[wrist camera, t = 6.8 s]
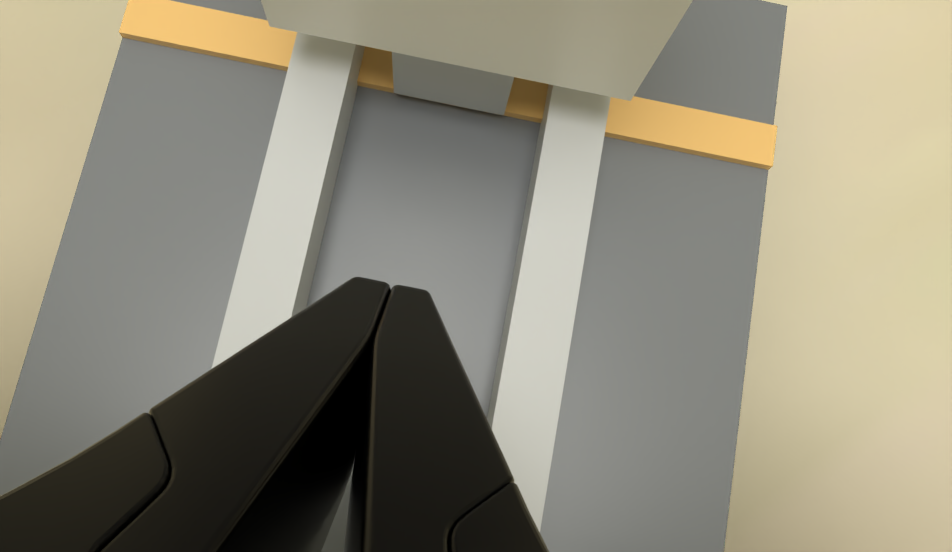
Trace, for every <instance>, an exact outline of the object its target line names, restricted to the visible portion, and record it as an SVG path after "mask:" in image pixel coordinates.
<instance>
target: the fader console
mask: <svg viewBox="0 0 952 552" xmlns="http://www.w3.org/2000/svg"><path fill="white" fill-rule="evenodd" d="M786 12H787V6H784V5H780V4H775V3H770V2H766V1H761V0H693V1H692V3H691V4H690V6H689V8H688V9H687V11H686V12H685V14H684V16H683V17H682V19H681V20H680V22H679V24H678V25H677V27H676V28H675V30H674V32H673V33H672V35H671V37H670V38H669V40H668V41H667V43H666V45H665V46H664V48H663V49H662V51H661V53H660V54H659V56H658V57H657V59H656V61H655V62H654V64H653V66H652V67H651V69H650V70H649V72H648V74H647V75H646V77H645V78H644V80H643V82H642V83H641V85H640V86H639V88H638V90H637V91H636V93H635V94H634V96H633V98H632V99H631V101H628V100H623V99H618V98H613V97H608V96H604V95H599V94H594V93H589V92H584V91H579V90H575V89H570V88H565V87H560V86H555V85H550V84H546V83H541V82H536V81H531V80H526V79H521V78H516V77H514V80H513V83H512V87H511V91H510V95H509V98H508V102H507V106H506V109H505V113H504V116H503V115H499V114H494V113H489V112H484V111H479V110H474V109H469V108H464V107H460V106H455V105H450V104H445V103H440V102H435V101H430V100H425V99H421V98H416V97H411V96H406V95H401V94H396V93H394V85H393V66H392V52H391V51H386V50H381V49H376V48H371V47H366V46H362V45H357V44H352V43H347V42H342V41H337V40H333V39H328V38H323V37H318V36H313V35H308V34H304V33H299V32H294V31H289V30H284V29H279V28H275V27H270V26H269V23H268V20H267V17H266V14H265V11H264V8H263V5H262V2H261V0H129V1H128V4H127V7H126V11H125V14H124V17H123V20H122V24H121V27H120V30H119V33H120V34H121V36H122V37H123V38H122V41H121V45H120V48H119V51H118V55H117V58H116V61H115V64H114V68H113V71H112V74H111V78H110V81H109V84H108V87H107V91H106V94H105V97H104V101H103V104H102V107H101V111H100V114H99V117H98V120H97V124H96V127H95V130H94V134H93V137H92V140H91V143H90V147H89V150H88V153H87V157H86V160H85V163H84V166H83V170H82V173H81V176H80V180H79V183H78V186H77V189H76V193H75V196H74V199H73V203H72V206H71V209H70V212H69V216H68V219H67V222H66V226H65V229H64V232H63V235H62V239H61V242H60V245H59V249H58V252H57V255H56V258H55V262H54V265H53V268H52V272H51V275H50V278H49V281H48V285H47V288H46V291H45V295H44V298H43V301H42V304H41V308H40V311H39V314H38V318H37V321H36V324H35V328H34V331H33V334H32V337H31V341H30V344H29V347H28V351H27V354H26V357H25V360H24V364H23V367H22V370H21V374H20V377H19V380H18V383H17V387H16V390H15V393H14V397H13V400H12V403H11V406H10V410H9V413H8V416H7V420H6V423H5V426H4V429H3V433H2V436H1V439H0V496H1V495H3V494H5V493H7V492H9V491H11V490H13V489H15V488H16V487H18V486H20V485H22V484H24V483H26V482H27V481H29V480H31V479H33V478H35V477H37V476H38V475H40V474H42V473H44V472H46V471H48V470H50V469H51V468H53V467H55V466H57V465H59V464H61V463H62V462H64V461H66V460H68V459H70V458H71V457H73V456H75V455H76V454H78V453H80V452H81V451H83V450H85V449H86V448H88V447H89V446H91V445H93V444H94V443H96V442H98V441H99V440H101V439H103V438H104V437H106V436H108V435H109V434H111V433H112V432H114V431H116V430H117V429H119V428H120V427H122V426H123V425H125V424H127V423H128V422H130V421H131V420H133V419H134V418H136V417H137V416H139V415H140V414H142V413H145V412H146V413H149V410H150V409H151V408H152V407H153V406H155V405H156V404H158V403H160V402H161V401H163V400H164V399H166V398H167V397H169V396H170V395H172V394H173V393H175V392H177V391H178V390H180V389H181V388H183V387H184V386H186V385H187V384H189V383H190V382H192V381H194V380H195V379H197V378H198V377H200V376H201V375H203V374H204V373H206V372H207V371H209V370H211V369H212V368H214V367H215V366H217V365H218V364H220V363H221V362H223V361H224V360H226V359H228V358H229V357H231V356H232V355H234V354H235V353H237V352H238V351H240V350H241V349H243V348H244V347H246V346H248V345H249V344H251V343H252V342H254V341H255V340H257V339H258V338H260V337H261V336H263V335H265V334H266V333H268V332H269V331H271V330H272V329H274V328H275V327H277V326H278V325H280V324H282V323H283V322H285V321H286V320H288V319H289V318H291V317H292V316H294V315H295V314H297V313H299V312H300V311H302V310H303V309H305V308H306V307H308V306H309V305H311V304H312V303H314V302H316V301H317V300H319V299H320V298H322V297H323V296H325V295H326V294H328V293H329V292H331V291H333V290H334V289H336V288H337V287H339V286H340V285H342V284H343V283H345V282H346V281H348V280H350V279H351V278H353V277H363V278H368V279H373V280H378V281H383V282H386V283H388V284H389V285H390V288H392V287H393V286H395V285H403V286H408V287H413V288H418V289H424V290H427V291H428V292H429V293H430V295H431V297H432V299H433V301H434V303H435V305H436V308H437V310H438V312H439V314H440V316H441V319H442V321H443V323H444V325H445V327H446V330H447V332H448V334H449V336H450V338H451V341H452V343H453V345H454V347H455V349H456V352H457V354H458V356H459V358H460V360H461V363H462V365H463V367H464V369H465V372H466V374H467V376H468V378H469V380H470V383H471V385H472V387H473V389H474V391H475V394H476V396H477V398H478V400H479V402H480V405H481V407H482V409H483V411H484V413H485V416H486V418H487V420H488V422H489V424H490V427H491V429H492V431H493V433H494V435H495V438H496V440H497V442H498V444H499V447H500V449H501V451H502V453H503V455H504V458H505V460H506V462H507V464H508V466H509V469H510V471H511V473H512V475H513V477H514V483H515V484H517V486H518V488H519V490H520V492H521V494H522V497H523V499H524V501H525V503H526V506H527V508H528V510H529V512H530V514H531V516H532V518H533V520H534V522H535V524H536V526H537V528H538V530H539V532H540V534H541V536H542V538H543V540H544V542H545V544H546V546H547V548H548V550H549V552H724V546H725V537H726V529H727V520H728V511H729V503H730V494H731V486H732V477H733V468H734V460H735V451H736V443H737V434H738V425H739V417H740V408H741V399H742V391H743V382H744V374H745V365H746V356H747V348H748V339H749V331H750V322H751V313H752V305H753V296H754V288H755V279H756V270H757V262H758V253H759V245H760V236H761V227H762V219H763V210H764V202H765V193H766V184H767V176H768V170H769V169H770V168H771V167H772V166H773V160H774V151H775V142H776V133H777V126H775V125H773V124H774V116H775V107H776V98H777V90H778V81H779V73H780V64H781V55H782V47H783V38H784V30H785V21H786ZM353 467H354V464H353ZM352 473H353V468H352V471H351V475H350V478H349V481H348V484H347V486H346V489H345V492H344V495H343V497H342V500H341V502H340V505H339V507H338V510H337V513H336V515H335V518H334V520H333V523H332V525H331V528H330V530H329V533H328V535H327V538H326V541H325V543H324V546H323V548H322V551H321V552H343V551H344V542H345V532H346V523H347V513H348V504H349V495H350V487H351V480H352Z"/></svg>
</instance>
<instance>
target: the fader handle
mask: <svg viewBox="0 0 952 552" xmlns="http://www.w3.org/2000/svg"><path fill="white" fill-rule="evenodd" d="M692 1H693V0H261V2H262V5H263V8H264V11H265V14H266V17H267V20H268V23H269V26H270V27H275V28H279V29H284V30H289V31H294V32H299V33H304V34H308V35H313V36H318V37H323V38H328V39H333V40H337V41H342V42H347V43H352V44H357V45H362V46H366V47H371V48H376V49H381V50H386V51H391V52H392V66H393V85H394V93H396V94H401V95H406V96H411V97H416V98H421V99H425V100H430V101H435V102H440V103H445V104H450V105H455V106H460V107H464V108H469V109H474V110H479V111H484V112H489V113H494V114H499V115H503V116H504V113H505V109H506V106H507V102H508V98H509V95H510V91H511V87H512V83H513V80H514V77H516V78H521V79H526V80H531V81H536V82H541V83H546V84H550V85H555V86H560V87H565V88H570V89H575V90H579V91H584V92H589V93H594V94H599V95H604V96H608V97H613V98H618V99H623V100H628V101H631V99H632V98H633V96H634V94H635V93H636V91H637V90H638V88H639V86H640V85H641V83H642V82H643V80H644V78H645V77H646V75H647V74H648V72H649V70H650V69H651V67H652V66H653V64H654V62H655V61H656V59H657V57H658V56H659V54H660V53H661V51H662V49H663V48H664V46H665V45H666V43H667V41H668V40H669V38H670V37H671V35H672V33H673V32H674V30H675V28H676V27H677V25H678V24H679V22H680V20H681V19H682V17H683V16H684V14H685V12H686V11H687V9H688V8H689V6H690V4H691V3H692Z"/></svg>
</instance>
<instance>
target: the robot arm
mask: <svg viewBox="0 0 952 552" xmlns="http://www.w3.org/2000/svg"><path fill="white" fill-rule="evenodd" d="M353 464H354V467H353ZM352 468H353V473H352V480H351V487H350V495H349V504H348V513H347V523H346V532H345V542H344V551H343V552H549V550H548V548H547V546H546V544H545V542H544V540H543V538H542V536H541V534H540V532H539V530H538V528H537V526H536V524H535V522H534V520H533V518H532V516H531V514H530V512H529V510H528V508H527V506H526V503H525V501H524V499H523V497H522V494H521V492H520V490H519V488H518V486H517V484H515V483H514V477H513V475H512V473H511V471H510V469H509V466H508V464H507V462H506V460H505V458H504V455H503V453H502V451H501V449H500V447H499V444H498V442H497V440H496V438H495V435H494V433H493V431H492V429H491V427H490V424H489V422H488V420H487V418H486V416H485V413H484V411H483V409H482V407H481V405H480V402H479V400H478V398H477V396H476V394H475V391H474V389H473V387H472V385H471V383H470V380H469V378H468V376H467V374H466V372H465V369H464V367H463V365H462V363H461V360H460V358H459V356H458V354H457V352H456V349H455V347H454V345H453V343H452V341H451V338H450V336H449V334H448V332H447V330H446V327H445V325H444V323H443V321H442V319H441V316H440V314H439V312H438V310H437V308H436V305H435V303H434V301H433V299H432V297H431V295H430V293H429V292H428V291H427V290H424V289H418V288H413V287H408V286H403V285H395V286H393V287H392V288H390V285H389V284H388V283H386V282H383V281H378V280H373V279H368V278H363V277H353V278H351V279H350V280H348V281H346V282H345V283H343V284H342V285H340V286H339V287H337V288H336V289H334V290H333V291H331V292H329V293H328V294H326V295H325V296H323V297H322V298H320V299H319V300H317V301H316V302H314V303H312V304H311V305H309V306H308V307H306V308H305V309H303V310H302V311H300V312H299V313H297V314H295V315H294V316H292V317H291V318H289V319H288V320H286V321H285V322H283V323H282V324H280V325H278V326H277V327H275V328H274V329H272V330H271V331H269V332H268V333H266V334H265V335H263V336H261V337H260V338H258V339H257V340H255V341H254V342H252V343H251V344H249V345H248V346H246V347H244V348H243V349H241V350H240V351H238V352H237V353H235V354H234V355H232V356H231V357H229V358H228V359H226V360H224V361H223V362H221V363H220V364H218V365H217V366H215V367H214V368H212V369H211V370H209V371H207V372H206V373H204V374H203V375H201V376H200V377H198V378H197V379H195V380H194V381H192V382H190V383H189V384H187V385H186V386H184V387H183V388H181V389H180V390H178V391H177V392H175V393H173V394H172V395H170V396H169V397H167V398H166V399H164V400H163V401H161V402H160V403H158V404H156V405H155V406H153V407H152V408H151V409H150V410H149V413H146V412H145V413H142V414H140V415H139V416H137V417H136V418H134V419H133V420H131V421H130V422H128V423H127V424H125V425H123V426H122V427H120V428H119V429H117V430H116V431H114V432H112V433H111V434H109V435H108V436H106V437H104V438H103V439H101V440H99V441H98V442H96V443H94V444H93V445H91V446H89V447H88V448H86V449H85V450H83V451H81V452H80V453H78V454H76V455H75V456H73V457H71V458H70V459H68V460H66V461H64V462H62V463H61V464H59V465H57V466H55V467H53V468H51V469H50V470H48V471H46V472H44V473H42V474H40V475H38V476H37V477H35V478H33V479H31V480H29V481H27V482H26V483H24V484H22V485H20V486H18V487H16V488H15V489H13V490H11V491H9V492H7V493H5V494H3V495H1V496H0V552H321V551H322V548H323V546H324V543H325V541H326V538H327V535H328V533H329V530H330V528H331V525H332V523H333V520H334V518H335V515H336V513H337V510H338V507H339V505H340V502H341V500H342V497H343V495H344V492H345V489H346V486H347V484H348V481H349V478H350V475H351V471H352Z"/></svg>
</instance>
